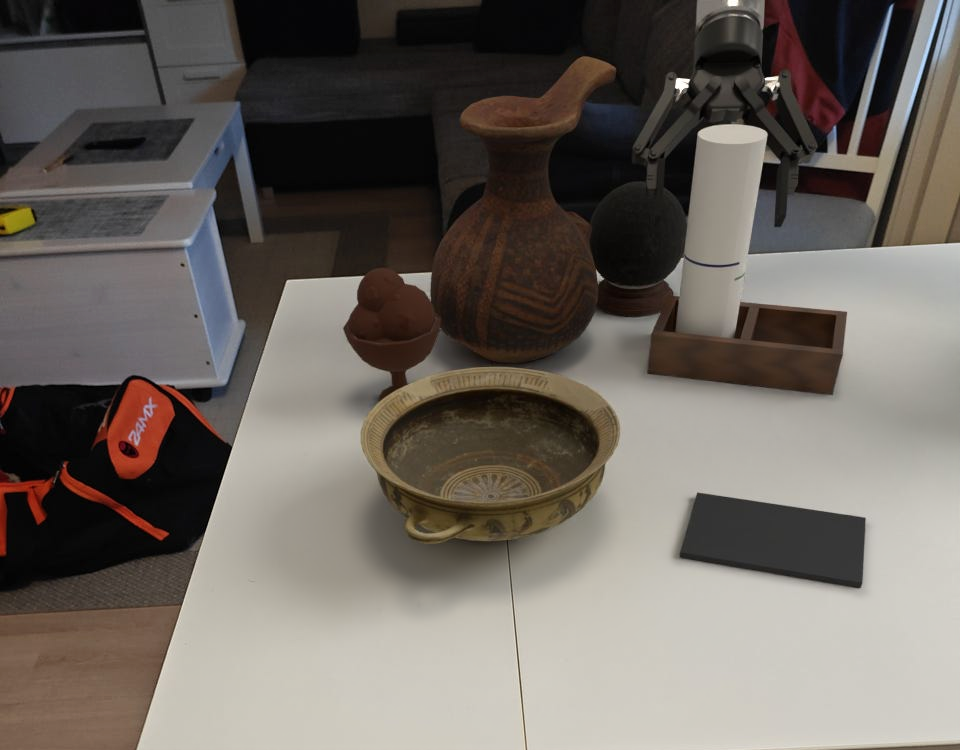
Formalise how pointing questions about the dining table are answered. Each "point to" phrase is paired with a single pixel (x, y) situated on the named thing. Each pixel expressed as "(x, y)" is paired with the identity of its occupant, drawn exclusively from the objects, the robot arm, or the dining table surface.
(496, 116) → the jug
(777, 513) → the mat
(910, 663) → the dining table surface
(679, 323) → the cylindrical container
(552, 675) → the dining table surface
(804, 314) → the wooden compartment box
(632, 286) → the black ball on stand
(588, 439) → the ceramic bowl
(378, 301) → the ice cream bowl
